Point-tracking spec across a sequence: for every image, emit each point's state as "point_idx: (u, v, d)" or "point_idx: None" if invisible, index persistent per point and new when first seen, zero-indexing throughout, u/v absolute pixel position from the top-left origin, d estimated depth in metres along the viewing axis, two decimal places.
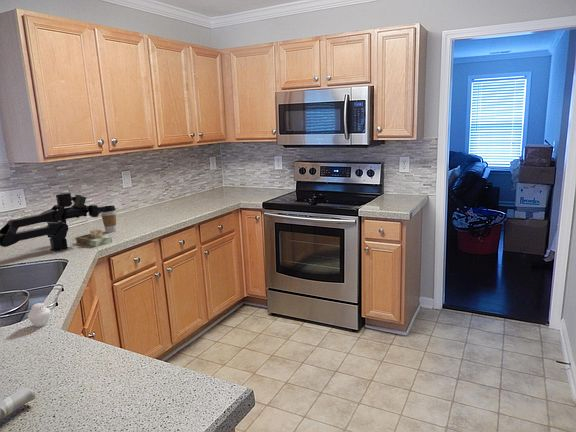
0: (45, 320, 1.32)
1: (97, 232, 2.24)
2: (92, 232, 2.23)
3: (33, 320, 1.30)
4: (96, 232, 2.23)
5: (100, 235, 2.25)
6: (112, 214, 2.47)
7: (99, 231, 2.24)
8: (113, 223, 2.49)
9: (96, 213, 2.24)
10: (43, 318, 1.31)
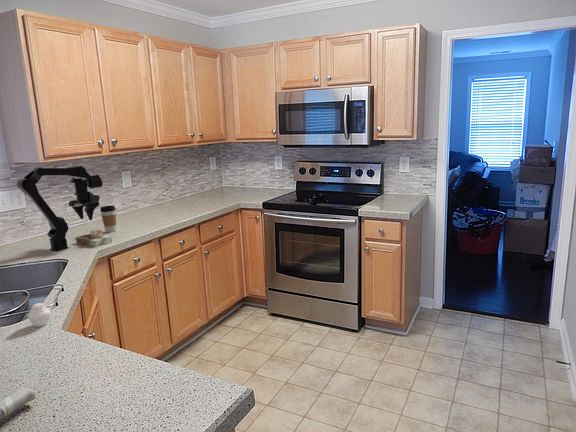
0: (45, 320, 1.32)
1: (97, 232, 2.24)
2: (92, 232, 2.23)
3: (33, 320, 1.30)
4: (96, 232, 2.23)
5: (100, 235, 2.25)
6: (112, 214, 2.47)
7: (99, 231, 2.24)
8: (113, 223, 2.49)
9: (92, 205, 2.20)
10: (43, 318, 1.31)
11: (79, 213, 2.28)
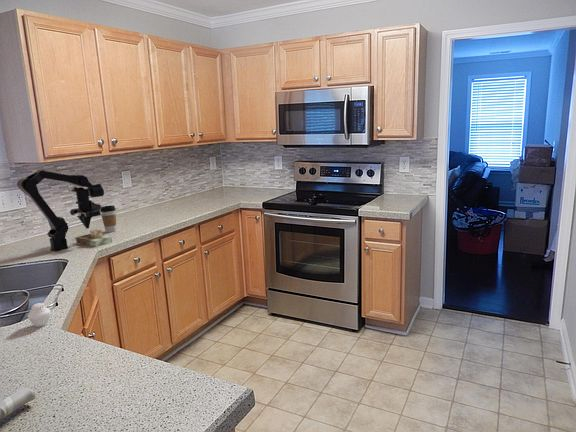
0: (45, 320, 1.32)
1: (97, 232, 2.24)
2: (92, 232, 2.23)
3: (33, 320, 1.30)
4: (96, 232, 2.23)
5: (100, 235, 2.25)
6: (112, 214, 2.47)
7: (99, 231, 2.24)
8: (113, 223, 2.49)
9: (93, 214, 2.21)
10: (43, 318, 1.31)
11: None
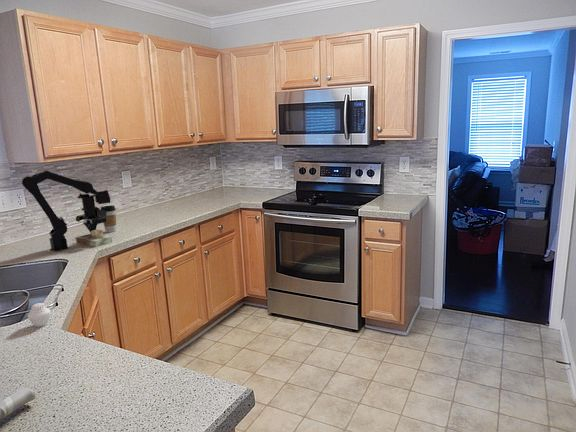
0: (45, 320, 1.32)
1: (98, 232, 2.23)
2: (93, 232, 2.23)
3: (33, 320, 1.30)
4: (97, 232, 2.23)
5: (101, 235, 2.25)
6: (112, 214, 2.47)
7: (100, 231, 2.24)
8: (113, 223, 2.49)
9: (100, 221, 2.19)
10: (43, 318, 1.31)
11: None
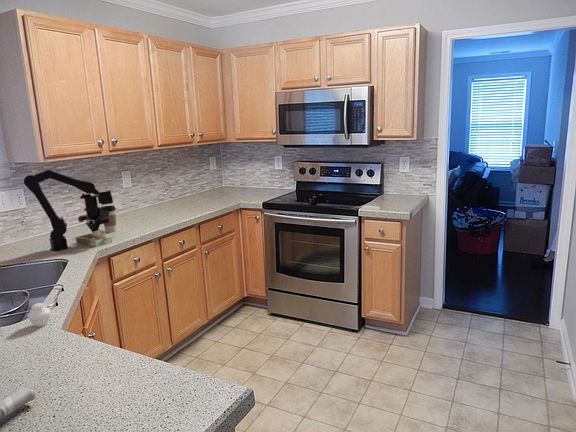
0: (45, 320, 1.32)
1: (101, 233, 2.22)
2: (96, 233, 2.22)
3: (33, 320, 1.30)
4: (100, 233, 2.21)
5: (104, 236, 2.23)
6: (112, 214, 2.47)
7: (103, 232, 2.23)
8: (113, 223, 2.49)
9: (102, 222, 2.18)
10: (43, 318, 1.31)
11: None
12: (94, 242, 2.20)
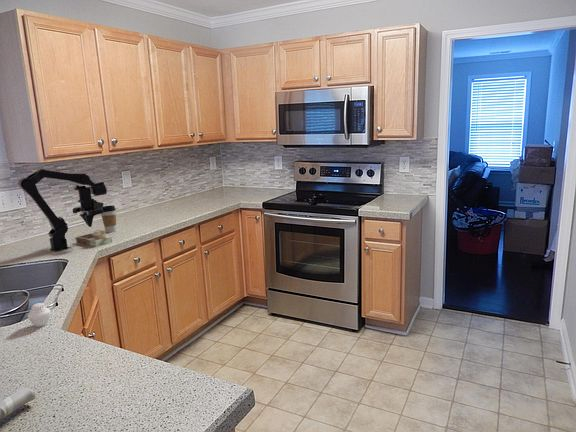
0: (45, 320, 1.32)
1: (101, 233, 2.22)
2: (96, 233, 2.22)
3: (33, 320, 1.30)
4: (100, 233, 2.21)
5: (104, 236, 2.23)
6: (112, 214, 2.47)
7: (103, 232, 2.23)
8: (113, 223, 2.49)
9: (96, 213, 2.20)
10: (43, 318, 1.31)
11: None
12: (94, 242, 2.20)
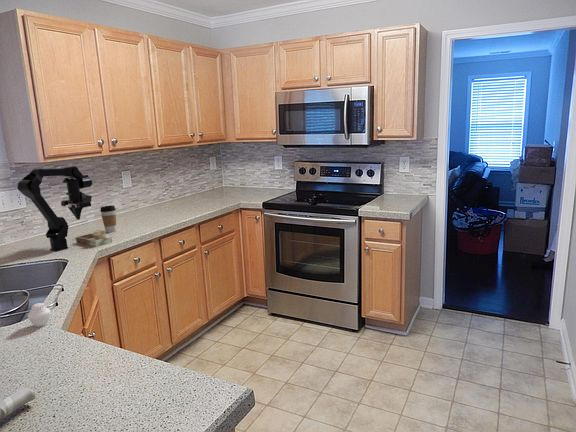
0: (45, 320, 1.32)
1: (101, 233, 2.22)
2: (96, 233, 2.22)
3: (33, 320, 1.30)
4: (100, 233, 2.21)
5: (104, 236, 2.23)
6: (112, 214, 2.47)
7: (103, 232, 2.23)
8: (113, 223, 2.49)
9: (84, 205, 2.21)
10: (43, 318, 1.31)
11: None
12: (94, 242, 2.20)
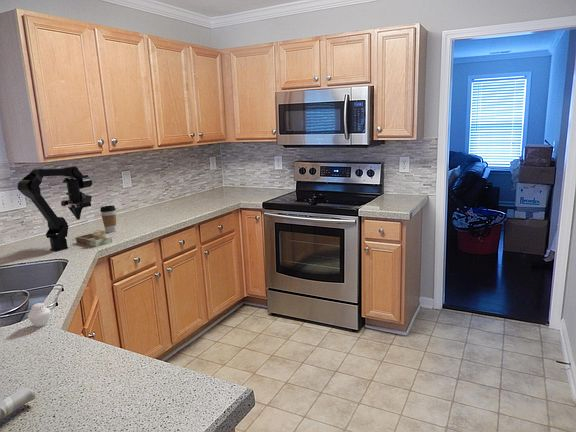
0: (45, 320, 1.32)
1: (101, 233, 2.22)
2: (96, 233, 2.22)
3: (33, 320, 1.30)
4: (100, 233, 2.21)
5: (104, 236, 2.23)
6: (112, 214, 2.47)
7: (103, 232, 2.23)
8: (113, 223, 2.49)
9: (84, 205, 2.21)
10: (43, 318, 1.31)
11: None
12: (94, 242, 2.20)
